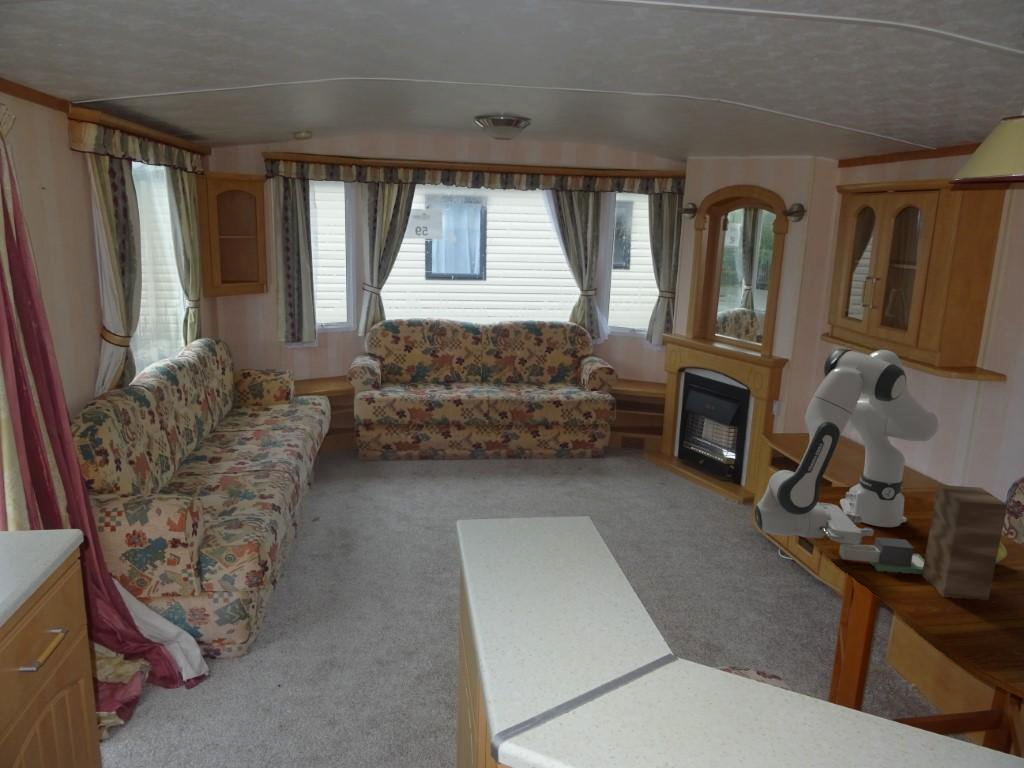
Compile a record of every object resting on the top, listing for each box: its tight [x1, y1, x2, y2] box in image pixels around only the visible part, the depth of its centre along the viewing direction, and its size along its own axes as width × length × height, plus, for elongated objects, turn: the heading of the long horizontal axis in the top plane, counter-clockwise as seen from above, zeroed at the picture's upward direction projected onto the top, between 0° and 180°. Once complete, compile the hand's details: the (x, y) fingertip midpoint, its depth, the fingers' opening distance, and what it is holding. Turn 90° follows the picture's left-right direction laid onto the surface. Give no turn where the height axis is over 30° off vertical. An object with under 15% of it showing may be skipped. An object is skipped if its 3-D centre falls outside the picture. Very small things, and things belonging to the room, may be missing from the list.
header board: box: [869, 553, 925, 575], centre depth 204 cm, size 10×15×2 cm, turn 85°
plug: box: [838, 536, 915, 567], centre depth 203 cm, size 6×18×6 cm, turn 83°
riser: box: [921, 484, 1008, 601], centre depth 190 cm, size 12×11×26 cm
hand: (866, 525), depth 203 cm, fingers open, 7 cm apart
